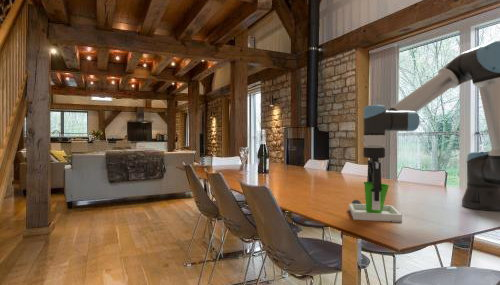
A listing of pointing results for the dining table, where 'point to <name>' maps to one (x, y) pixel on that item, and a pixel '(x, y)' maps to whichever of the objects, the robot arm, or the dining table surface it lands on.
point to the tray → (387, 213)
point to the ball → (356, 202)
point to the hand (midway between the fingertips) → (373, 206)
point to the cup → (369, 197)
